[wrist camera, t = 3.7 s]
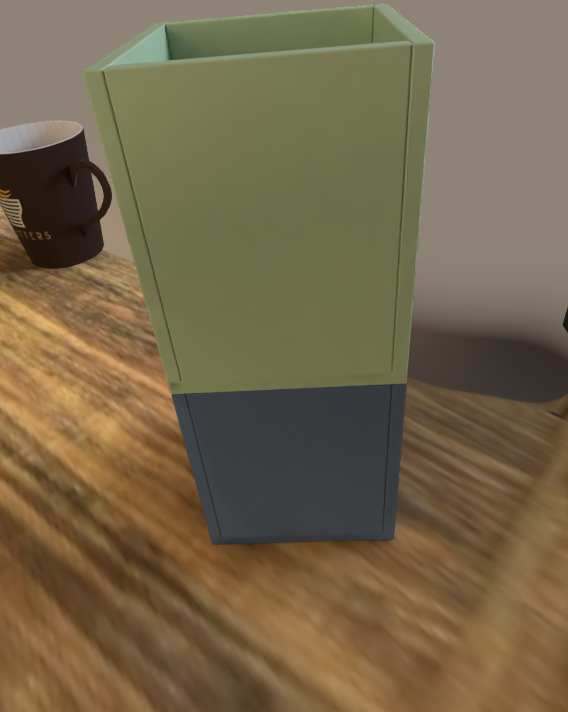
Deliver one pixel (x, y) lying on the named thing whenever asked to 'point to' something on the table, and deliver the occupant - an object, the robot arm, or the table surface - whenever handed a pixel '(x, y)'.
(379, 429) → the blue basket
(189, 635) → the table surface
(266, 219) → the green basket
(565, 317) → the robot arm
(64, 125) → the coffee mug
